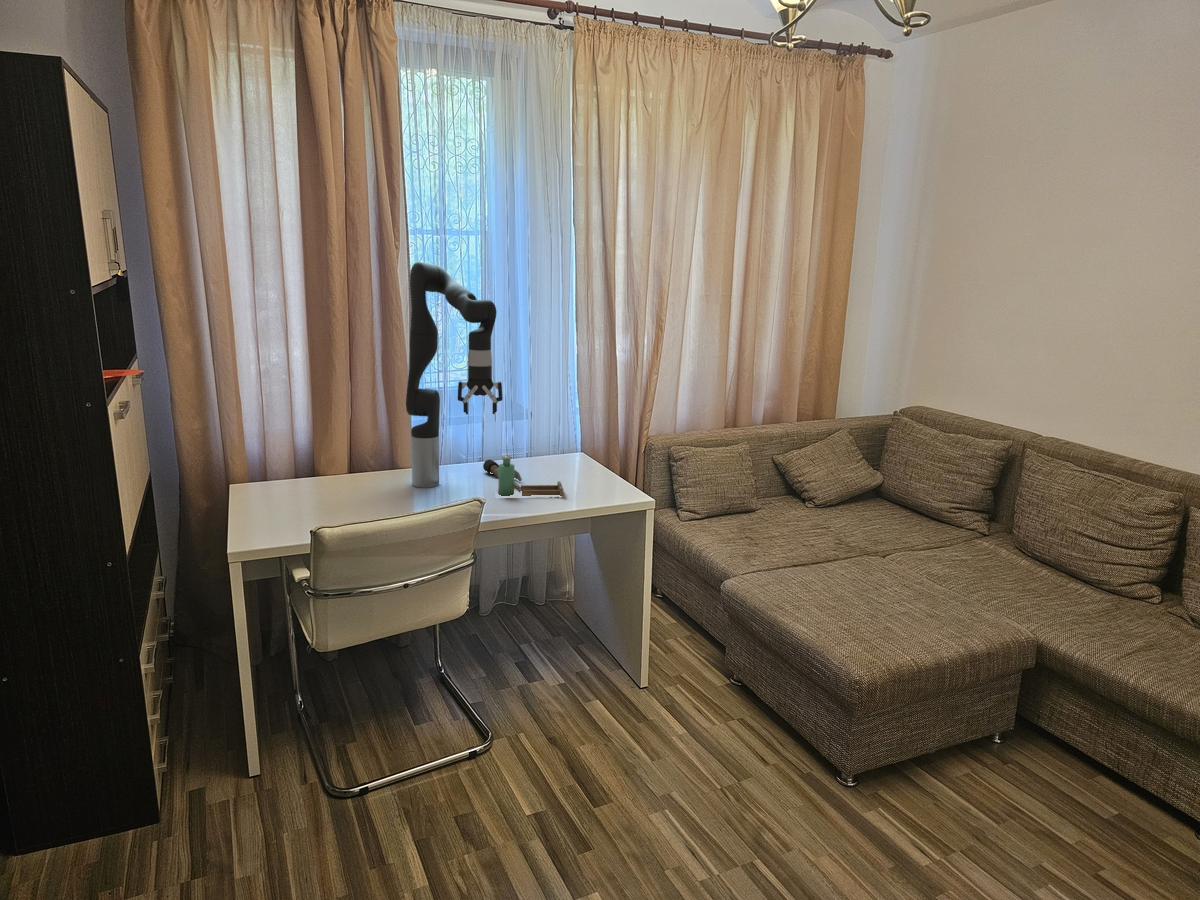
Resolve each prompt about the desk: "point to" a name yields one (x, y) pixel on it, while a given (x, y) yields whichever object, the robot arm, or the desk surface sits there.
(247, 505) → the desk surface
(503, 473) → the bottle
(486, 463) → the wall sconce
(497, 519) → the desk surface
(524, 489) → the cradle
